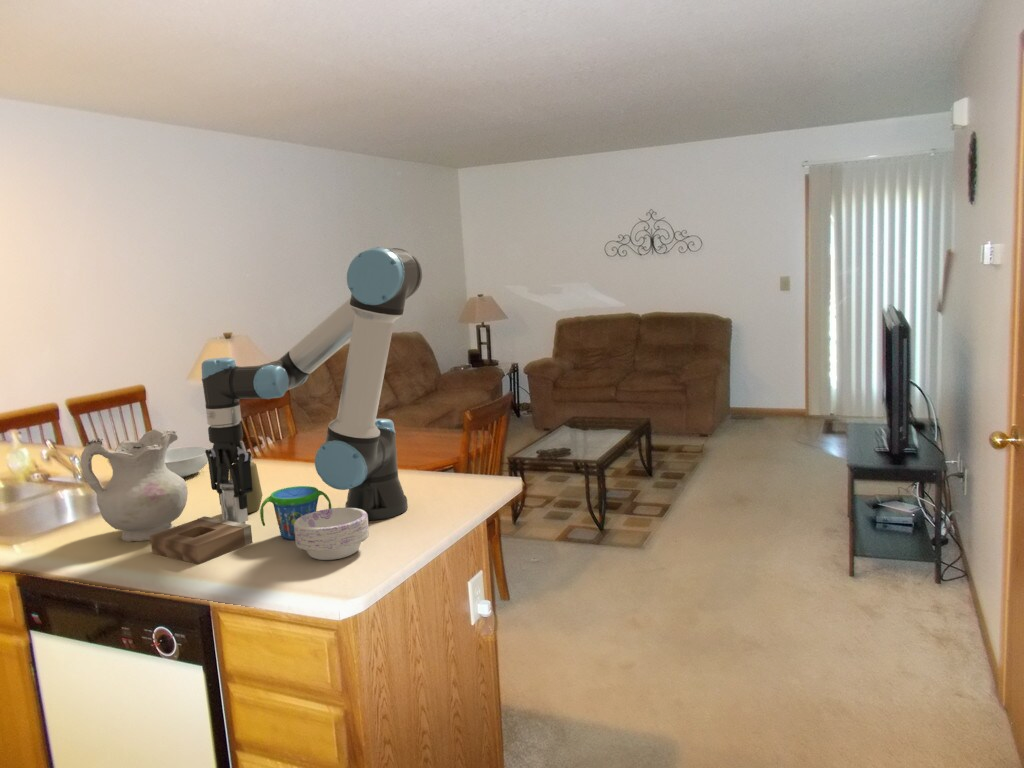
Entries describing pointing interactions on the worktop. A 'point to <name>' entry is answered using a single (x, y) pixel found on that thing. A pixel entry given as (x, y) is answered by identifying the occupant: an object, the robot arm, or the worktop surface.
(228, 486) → the metal capped cylinder
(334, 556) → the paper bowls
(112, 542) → the worktop surface
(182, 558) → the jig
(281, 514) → the snack cup
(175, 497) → the ceramic pitcher
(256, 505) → the squeeze bottle
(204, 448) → the serving bowl
